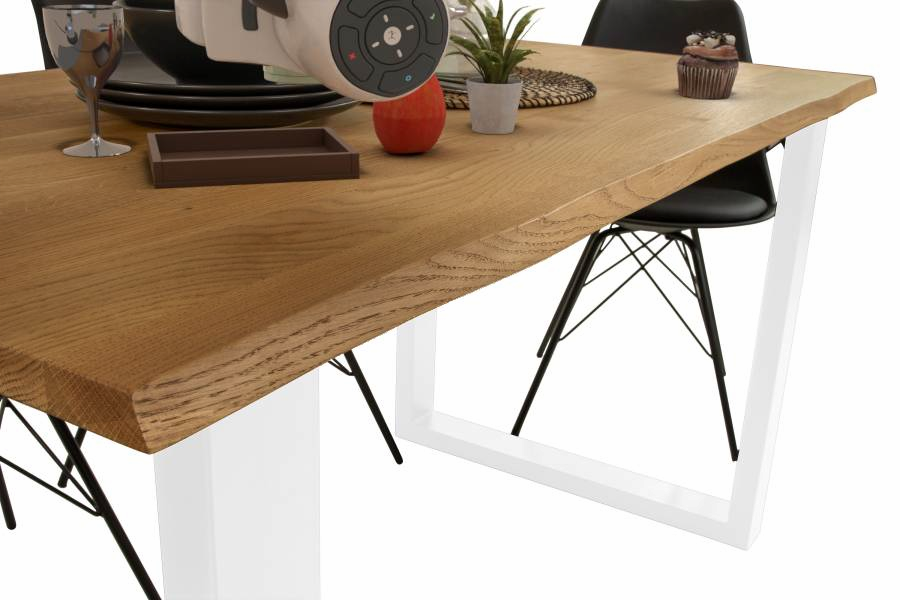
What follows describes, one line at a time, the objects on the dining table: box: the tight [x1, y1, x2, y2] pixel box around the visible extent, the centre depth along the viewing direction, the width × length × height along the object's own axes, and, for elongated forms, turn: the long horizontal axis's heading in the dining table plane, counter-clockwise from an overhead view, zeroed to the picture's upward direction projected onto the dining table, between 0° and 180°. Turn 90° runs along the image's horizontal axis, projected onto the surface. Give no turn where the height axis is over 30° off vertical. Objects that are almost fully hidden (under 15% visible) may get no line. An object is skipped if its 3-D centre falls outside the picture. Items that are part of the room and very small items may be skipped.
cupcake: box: [675, 29, 740, 100], centre depth 158 cm, size 10×10×10 cm
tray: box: [146, 126, 360, 190], centre depth 103 cm, size 20×15×3 cm
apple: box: [372, 73, 447, 155], centre depth 111 cm, size 8×8×11 cm
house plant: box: [444, 0, 545, 135], centre depth 125 cm, size 14×14×16 cm
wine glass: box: [42, 4, 132, 158], centre depth 107 cm, size 8×8×15 cm
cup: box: [262, 66, 321, 85], centre depth 81 cm, size 6×6×11 cm
